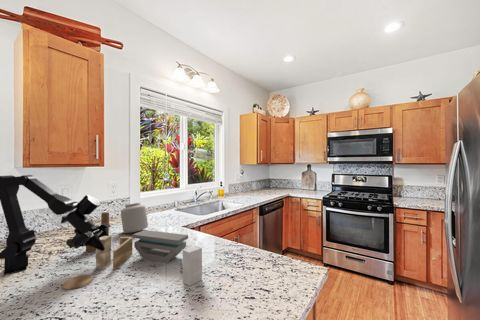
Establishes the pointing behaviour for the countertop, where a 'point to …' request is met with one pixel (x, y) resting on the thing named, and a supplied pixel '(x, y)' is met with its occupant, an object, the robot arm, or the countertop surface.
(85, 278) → the coaster
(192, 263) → the skincare box
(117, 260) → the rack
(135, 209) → the jar
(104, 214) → the wooden block
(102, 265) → the pale wood block
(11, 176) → the robot arm
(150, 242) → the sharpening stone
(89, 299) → the countertop surface
